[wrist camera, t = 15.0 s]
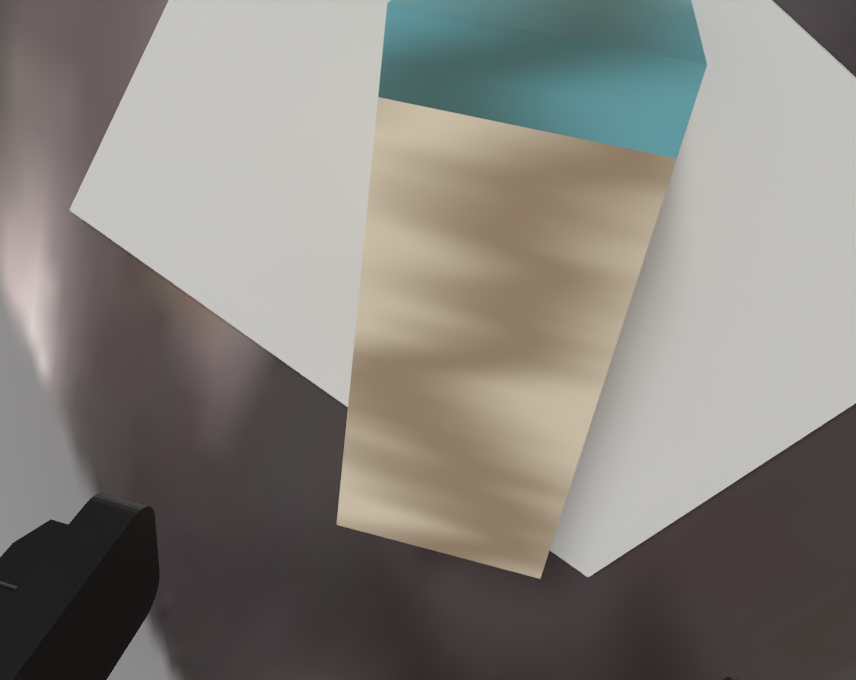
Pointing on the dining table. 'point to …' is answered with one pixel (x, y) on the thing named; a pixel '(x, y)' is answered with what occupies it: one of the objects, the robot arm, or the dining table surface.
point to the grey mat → (657, 282)
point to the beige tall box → (503, 257)
